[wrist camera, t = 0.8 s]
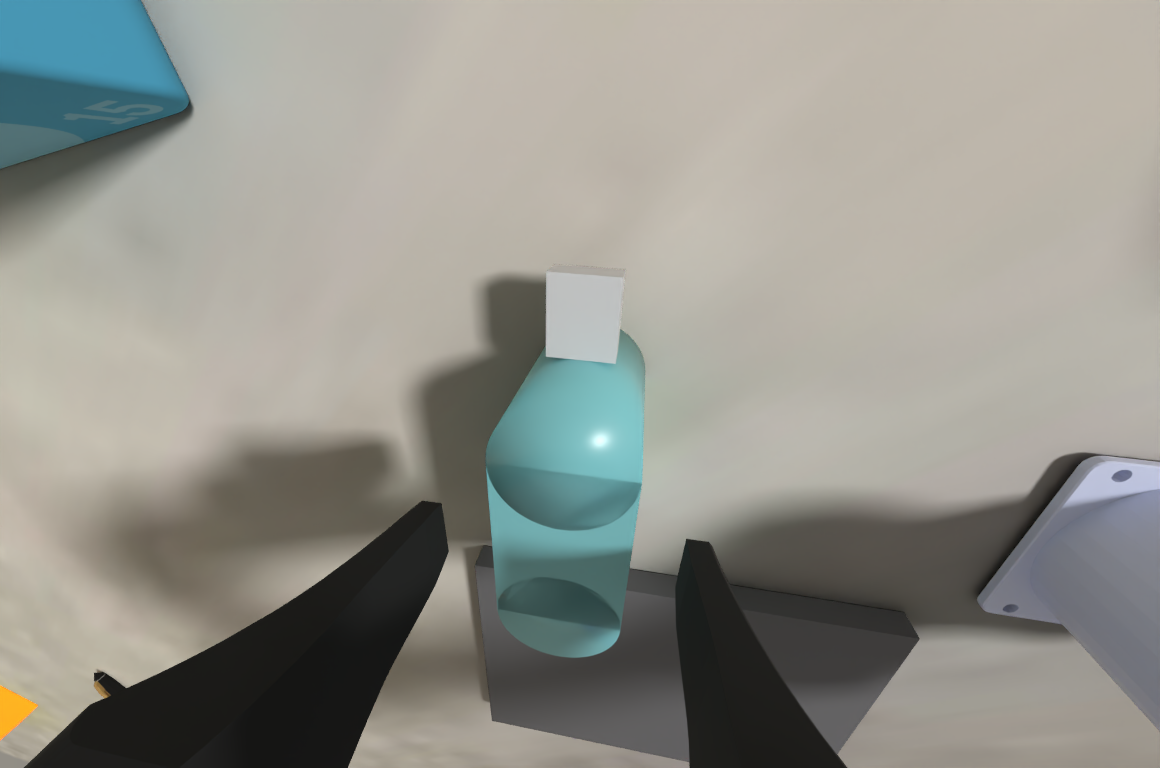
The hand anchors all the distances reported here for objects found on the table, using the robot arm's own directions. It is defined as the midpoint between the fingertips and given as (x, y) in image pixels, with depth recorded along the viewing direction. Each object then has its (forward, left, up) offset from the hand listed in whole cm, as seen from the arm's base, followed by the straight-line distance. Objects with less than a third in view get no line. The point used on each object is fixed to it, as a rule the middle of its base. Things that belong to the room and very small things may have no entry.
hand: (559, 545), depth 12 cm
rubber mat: (-5, +15, -6) cm, 17 cm away
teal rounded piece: (0, -1, -6) cm, 6 cm away
